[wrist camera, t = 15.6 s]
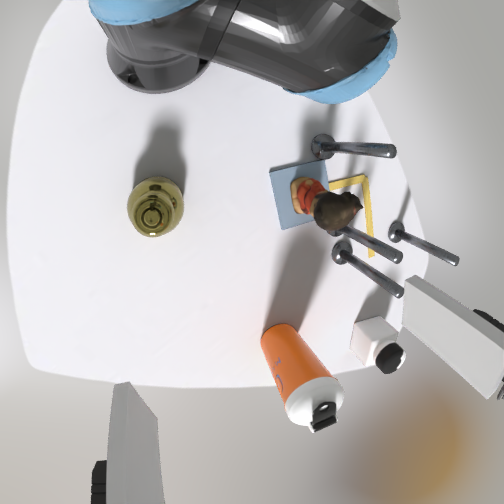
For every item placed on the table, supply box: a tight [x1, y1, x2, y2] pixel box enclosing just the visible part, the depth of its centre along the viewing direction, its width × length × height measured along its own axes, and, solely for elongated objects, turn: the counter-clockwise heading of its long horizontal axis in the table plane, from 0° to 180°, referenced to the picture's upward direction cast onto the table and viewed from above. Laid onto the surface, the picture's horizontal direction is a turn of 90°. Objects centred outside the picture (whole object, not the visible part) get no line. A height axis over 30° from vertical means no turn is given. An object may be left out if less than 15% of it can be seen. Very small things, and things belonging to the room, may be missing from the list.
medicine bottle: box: [350, 316, 406, 374], centre depth 53 cm, size 7×7×12 cm
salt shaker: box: [127, 176, 184, 237], centre depth 34 cm, size 7×7×10 cm
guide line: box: [329, 174, 375, 258], centre depth 47 cm, size 16×8×1 cm, turn 13°
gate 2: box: [332, 222, 459, 298], centre depth 43 cm, size 4×17×16 cm, turn 103°
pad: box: [269, 160, 330, 230], centre depth 43 cm, size 9×9×1 cm
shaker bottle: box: [261, 324, 344, 433], centre depth 43 cm, size 9×9×20 cm
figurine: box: [290, 177, 364, 231], centre depth 37 cm, size 6×6×12 cm
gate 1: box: [312, 134, 403, 264], centre depth 37 cm, size 17×4×16 cm, turn 13°
